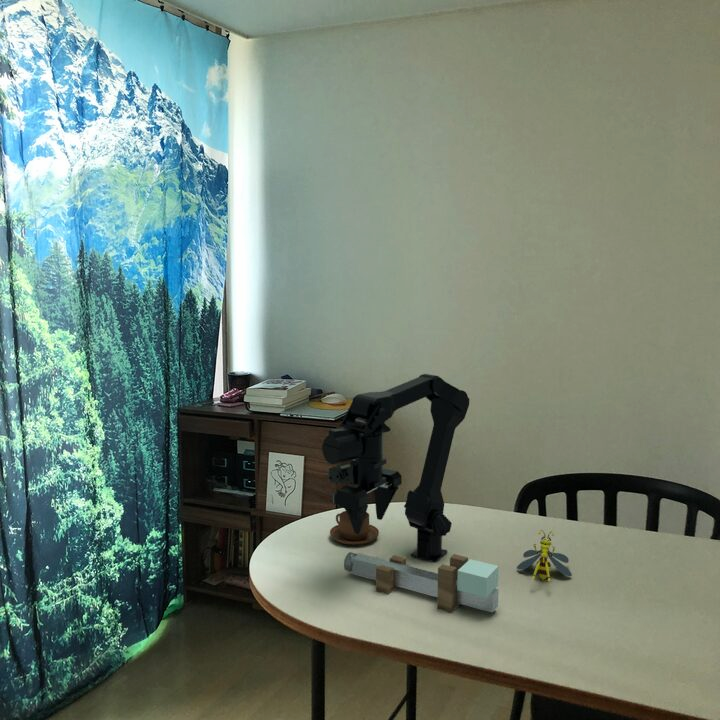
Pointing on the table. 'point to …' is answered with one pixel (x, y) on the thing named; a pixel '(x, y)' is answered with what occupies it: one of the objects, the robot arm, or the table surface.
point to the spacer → (477, 578)
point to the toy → (544, 559)
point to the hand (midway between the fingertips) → (368, 526)
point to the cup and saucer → (347, 534)
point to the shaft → (415, 580)
